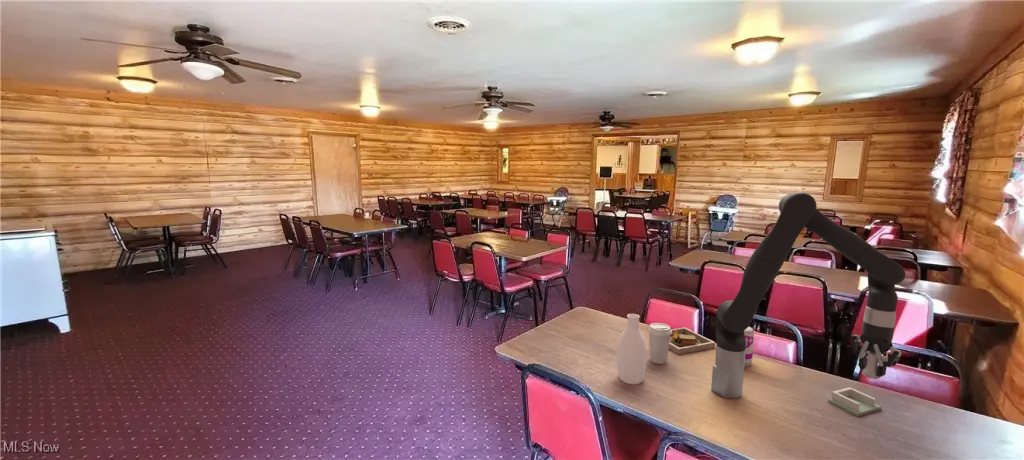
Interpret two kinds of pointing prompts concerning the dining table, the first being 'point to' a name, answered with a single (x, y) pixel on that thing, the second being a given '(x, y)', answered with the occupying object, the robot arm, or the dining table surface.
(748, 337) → the supplement can
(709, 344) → the tray rim
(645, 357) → the bottle
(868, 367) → the rook chess piece
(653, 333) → the coffee cup
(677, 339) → the toy sandwich meal
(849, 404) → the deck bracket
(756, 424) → the dining table surface
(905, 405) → the dining table surface
